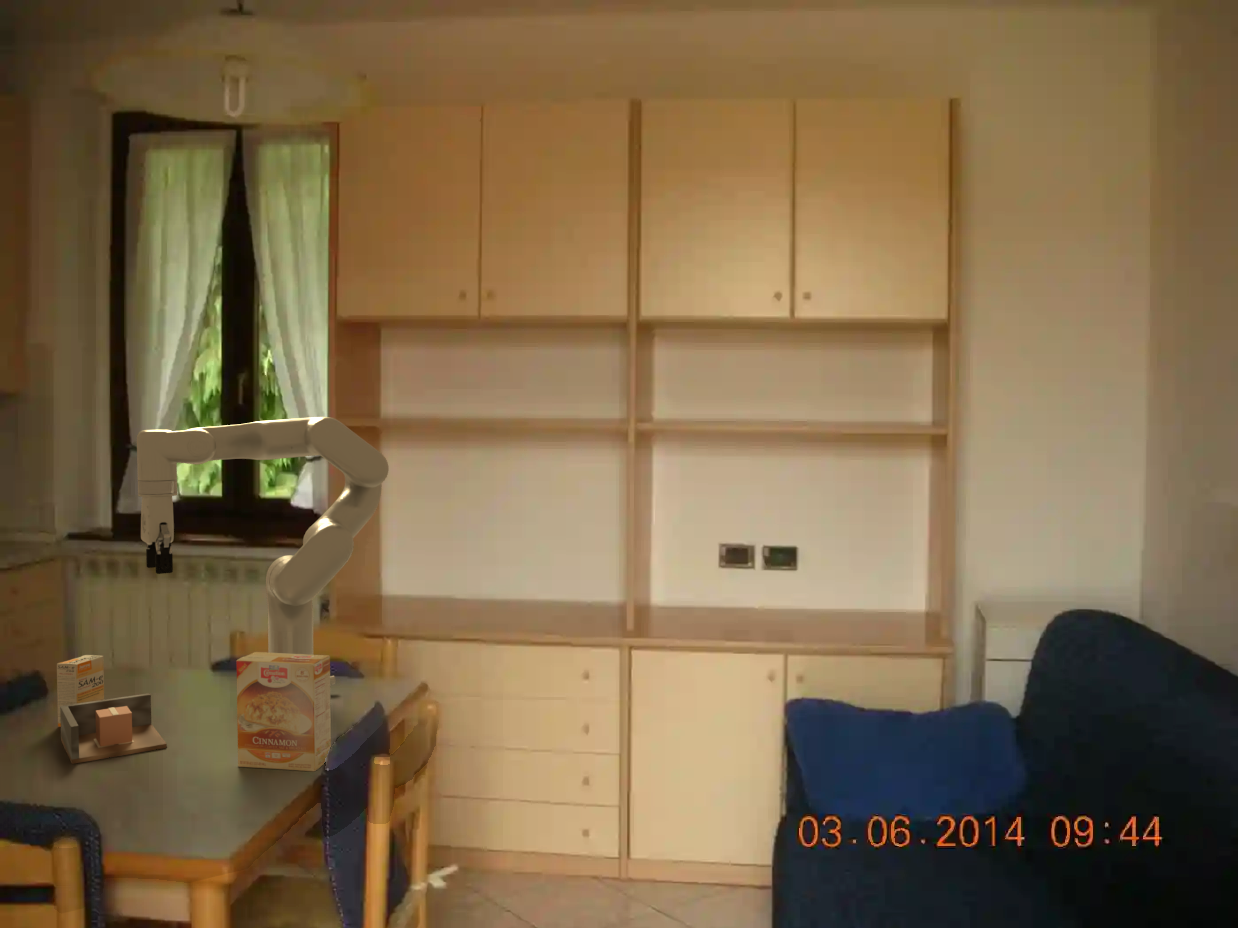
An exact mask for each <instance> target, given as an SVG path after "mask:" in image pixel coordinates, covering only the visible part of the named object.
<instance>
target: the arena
mask: <svg viewBox="0 0 1238 928" xmlns="http://www.w3.org/2000/svg"><path fill="white" fill-rule="evenodd" d="M151 694H152V693H142V694H135V695H129V696H128V695H127V696H122V697H121V696H120V697H115V698H108V699H107V698H106V699H104V700H98V701H91V702H84V703H77V704H70V705H63V706H60V720H61V727H60V741H61V744H62V745H63V748H64V751H65V752H66V754H67V757H68V758H69V760H70V763H71V764H72V765H75V764H79V763H85V762H91V761H97V760H104V759H109V757H110V758H115V757H116V758H117V757H121V756H127V755H128V756H129V755H131V754H132V755H133V754H139V753H143V752H144V753H145V752H151V751H157V750H162V749H167V748H168V745H167V742H166V741H165V740H164V738H163V737H162V735H160V733H159V732H158V731H157V729H156V728H155V727H154V725H153V724H152V695H151ZM123 706H127V707H128V708H129V710H130V711H131V712H132V742H126V743H119V744H113V745H107V746H101V747H100V745H99V743H98V741H97V739H96V710H103V709H108V708H112V707H114V708H116V707H123ZM156 749H157V750H156Z"/></svg>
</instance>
